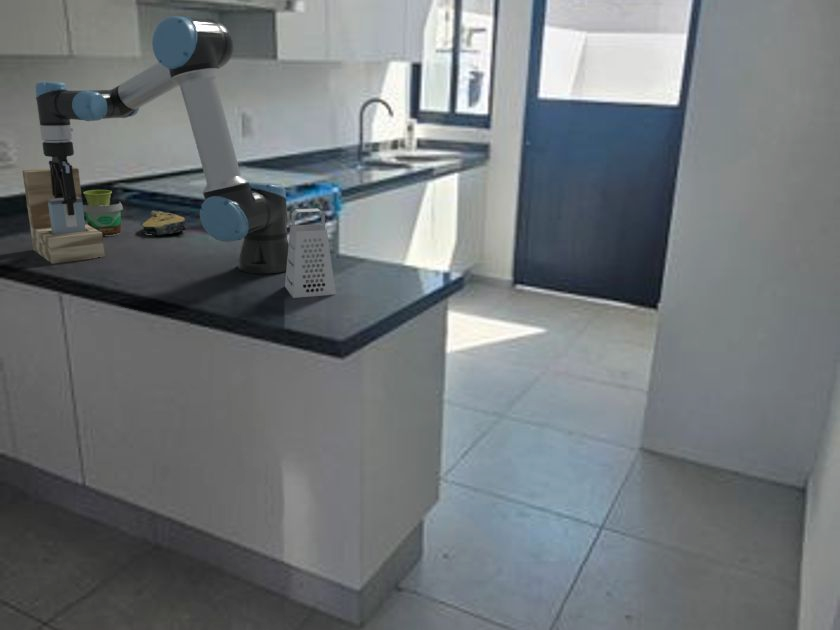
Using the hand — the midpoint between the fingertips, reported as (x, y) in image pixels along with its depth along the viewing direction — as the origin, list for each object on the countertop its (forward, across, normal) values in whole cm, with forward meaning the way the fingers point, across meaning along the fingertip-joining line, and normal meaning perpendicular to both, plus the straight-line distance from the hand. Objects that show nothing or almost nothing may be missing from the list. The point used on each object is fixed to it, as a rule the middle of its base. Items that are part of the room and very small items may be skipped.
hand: (67, 224), depth 213 cm
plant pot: (+9, +55, -25) cm, 61 cm away
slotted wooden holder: (+9, +3, 0) cm, 10 cm away
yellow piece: (+10, +21, -36) cm, 43 cm away
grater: (+9, -69, -37) cm, 79 cm away
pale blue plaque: (+5, 0, 0) cm, 5 cm away
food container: (+9, +21, -17) cm, 29 cm away
